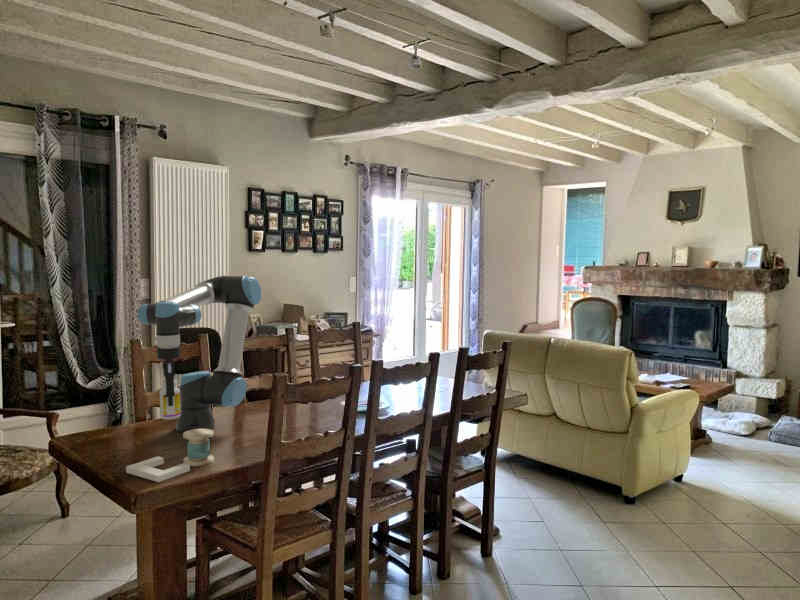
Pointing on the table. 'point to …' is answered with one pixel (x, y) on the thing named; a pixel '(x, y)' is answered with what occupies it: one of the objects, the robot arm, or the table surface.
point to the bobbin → (198, 447)
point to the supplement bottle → (163, 402)
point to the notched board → (154, 474)
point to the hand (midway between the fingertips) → (170, 411)
